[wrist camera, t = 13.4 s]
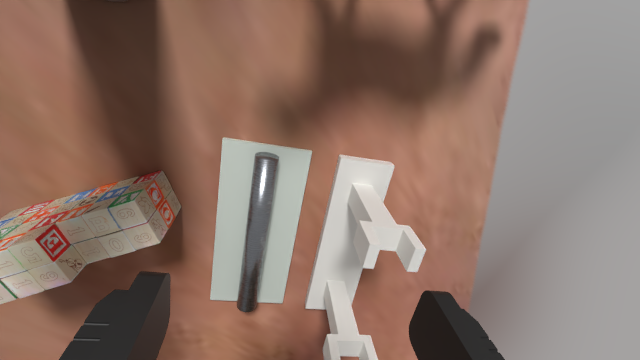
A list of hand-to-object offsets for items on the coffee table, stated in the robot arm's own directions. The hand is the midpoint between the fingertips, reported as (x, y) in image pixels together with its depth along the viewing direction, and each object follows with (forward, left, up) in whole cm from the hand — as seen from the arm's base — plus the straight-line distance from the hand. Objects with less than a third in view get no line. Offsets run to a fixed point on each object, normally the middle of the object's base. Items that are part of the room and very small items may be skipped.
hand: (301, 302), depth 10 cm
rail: (-1, -20, -34) cm, 39 cm away
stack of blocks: (-23, -19, -34) cm, 46 cm away
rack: (+13, -20, -34) cm, 42 cm away
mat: (-1, -20, -34) cm, 40 cm away
